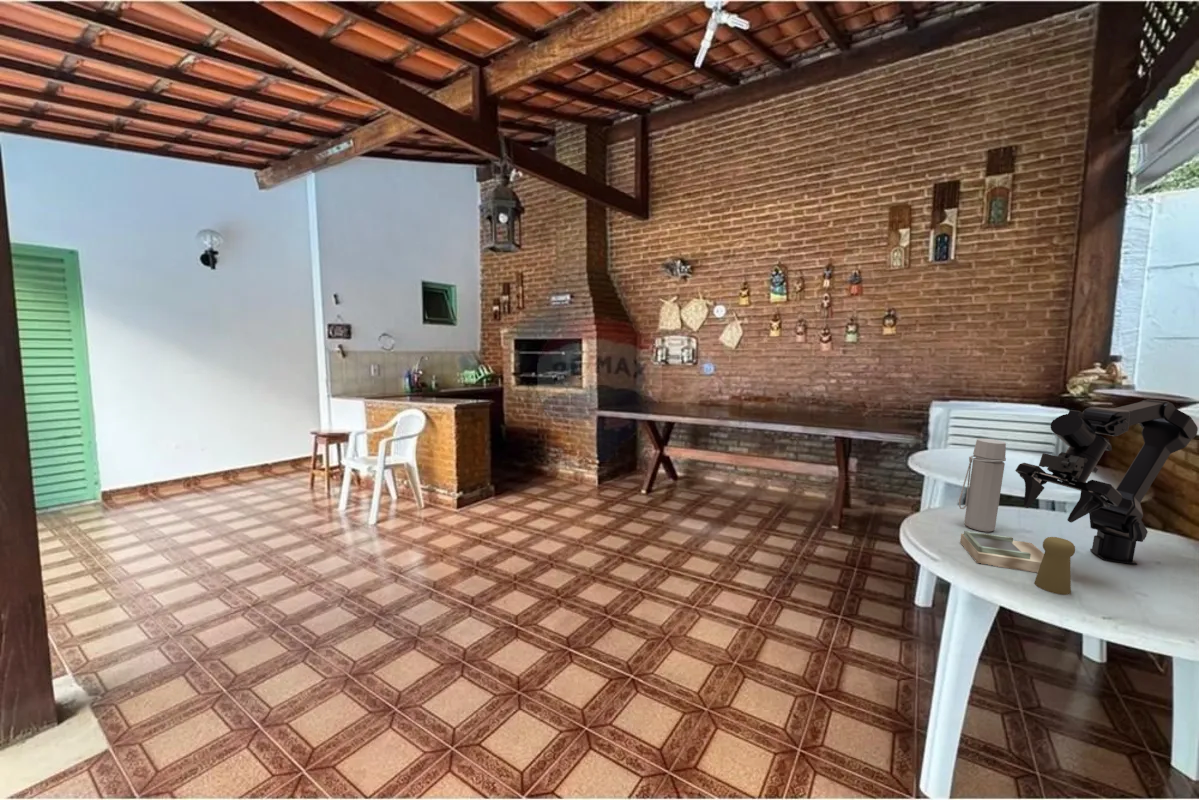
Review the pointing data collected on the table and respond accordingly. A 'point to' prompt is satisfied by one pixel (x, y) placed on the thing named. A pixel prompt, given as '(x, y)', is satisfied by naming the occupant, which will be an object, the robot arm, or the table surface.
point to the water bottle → (984, 484)
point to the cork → (1056, 566)
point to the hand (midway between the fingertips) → (1046, 514)
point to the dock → (1002, 551)
